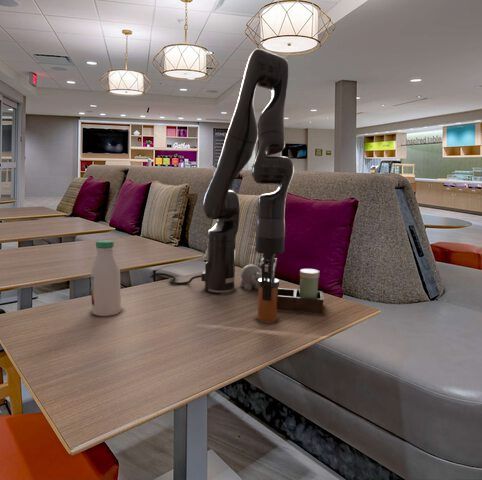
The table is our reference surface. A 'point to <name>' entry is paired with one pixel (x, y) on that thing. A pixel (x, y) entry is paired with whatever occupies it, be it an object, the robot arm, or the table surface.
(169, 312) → the table surface
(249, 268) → the chubby cartoon animal
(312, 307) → the jar stand
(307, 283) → the green jar
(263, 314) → the amber jar
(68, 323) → the table surface
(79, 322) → the table surface
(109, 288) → the milk bottle
